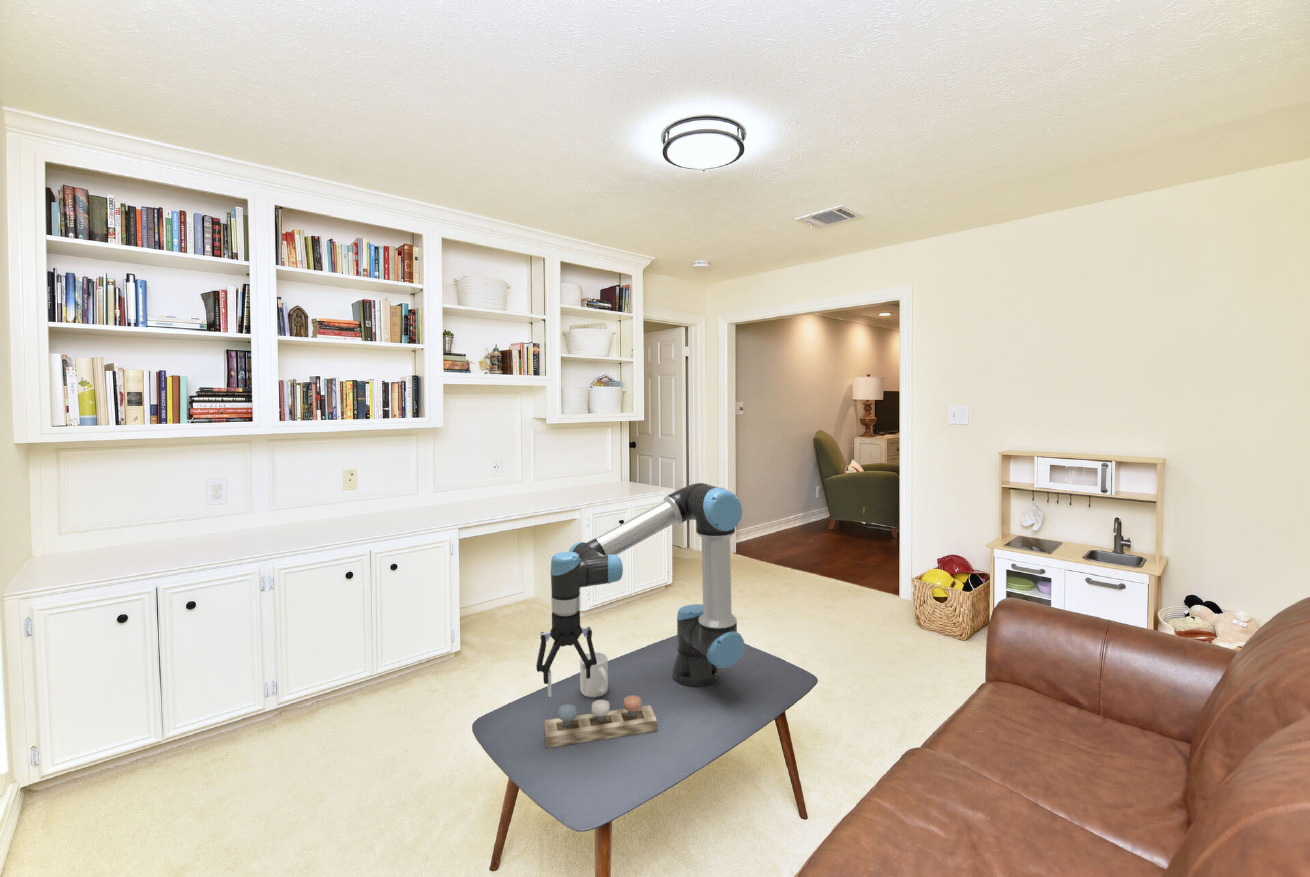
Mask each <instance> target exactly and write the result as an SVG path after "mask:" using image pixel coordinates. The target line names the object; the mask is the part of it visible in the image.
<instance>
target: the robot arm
mask: <svg viewBox="0 0 1310 877" xmlns="http://www.w3.org/2000/svg"><path fill="white" fill-rule="evenodd" d="M742 516H743V506H742V503H741V500H740V499H739V497H738V496H737V495H736V494H735V493H734V492H732V491H730V490H728V489H727V488H724V487H719V486H714V485H710V484H709V483H704V482H703V483H702V482H698V483H692V484H689V485H686V486H685V487H682V488H680V489H677V490H676V491H674V492H672V493H670V494H668V495H666V496H665V497H664V498H663V501H662V502H660V503H658V504H657V505H655V506H653V507H651V508H648V509H647V510H645V511H644V512H642V513H640V514H638V515H636V516H634V517H632V518H629V520H627V521H625V522H623V523H621V524H619V525H617V526H615V527H614V528H612V529H610V530H608V531H607V532H605V533H603V534H601V535H598V536H596V537H595V538H593V539H591V540H589V541H587V542H583V541H578V542H576V543H574V544H573V545H572V546H571V547H570V548H569V551H560V552H557V553H555V554H553V555H552V557H551V560H550V582H551V583H550V584H551V586H550V587H551V598H550V599H551V628H550V631H548V632H544V631H541V632H540V633H539V634H540V635H539V636H540V645H539V651H538V655H537V660H536V664H535V666H536V672H538V673H540V672H542V674H543V676H542V677H543V678H542V679H543V684H544V685H547V694H548V698H551V697H552V672H551V666H552V665H553V663H554V660H555V658H556V655H557V654H558V651H559V650H560V648H561V647H566V646H574V648H575V650H576V651H577V653H578V654H579V658H580V657H581V658H582V660H583V662H584V665H582V684H583V691H584V692H587V684H586V679H589V678H590V668H591V666H592V665H596V664H597V660H596V656H595V652H596V651H595V648H594V645H593V640H592V637H593V631H592V630H593V629H592V627H590V626H588V627H586V628H584V627H583V628H582V626H581V611H580V609H581V597H580V596H581V595H580V594H581V592H580V591H581V588H587V587H592V586H598V585H606V584H609V585H610V584H612V583H616V582H619V581H620V580H621V579H622V577H623V572H624V569H623V568H624V566H623V562H622V559H621V557H620V556H619V555H620V554H621V553H624V552H625V551H627V550H629V549H630V548H632V547H634V546H636V545H638V544H639V543H641V542H643V541H645V540H646V539H648V538H650V537H652V536H654V535H656V534H657V533H659V532H661V531H663V530H664V529H666V528H668V527H670V526H672V525H674V524H676V525H681V524H682V523H684V522H686V521H690V520H691V521H692V520H694V521H695V528H696V533H695V534H697V535H698V536H699V537H700V538H701V569H702V570H701V572H702V575H701V576H702V604H701V603H699V604H697V603H695V604H688V605H683V606H682V607H680V608H679V609H678V611H677V615H676V616H677V617H676V623H677V624H676V626H677V628H676V632H677V634H676V635H677V636H676V638H677V639H676V642H677V645H676V646H677V647H676V648H677V651H676V652H677V653H676V655H675V658H674V661H673V664H672V667H671V676H672V678H673V680H674V681H676V682H677V683H679V684H681V685H685V686H688V687H704V686H705V687H706V686H709V685H711V684H713V683H715V682H716V681H717V680H718V678H719V668H720V669H727V668H729V667H732V666H734V665H735V664H736V663H737V662H738V661H739V659H741V658H742V655H743V653H744V649H745V641H744V638H743V636H742V635H741V634H740V633H739V632H738V622H737V621H738V620H737V617H736V616H735V615H734V614H733V613H732V572H731V570H732V569H731V568H732V566H731V562H732V561H731V537H732V536H733V535H734V534H735V533H736V528H737V526H738V525H739V522H741V520H742ZM582 634H583V637H585V638H586V643H587V647H588V651H589V652H588V653H590V656H591V659H589V660H588V658H587V656H586V653H585V650H584V649H583V647H582V645H581V644H580V643H581V642H580V641H579V638H580V637H581V635H582ZM550 638H552V639H553V644H552V647H551V648H550V651H549V654H548V656H547V658H546V659H545V662H544V658H545V654H546V647H547V642H548V641H549V640H550ZM543 662H544V664H543Z"/></svg>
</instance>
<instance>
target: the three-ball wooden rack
mask: <svg viewBox="0 0 1310 877" xmlns="http://www.w3.org/2000/svg"><path fill="white" fill-rule="evenodd" d="M652 732H658V720H657V718H656V715H655V713H654V711H653V708H652V707H651V705H643V706H642V705H641V708H640V709H639V710H638V716H637V717H636V718H629V717H628V711H627V710H625V709H624V708H622V709H615V710H609V713H608V714H607V715H606V721H605V722H603V723H598V722H596V716H595V715H593V714H592V713H586V714H580V715H578V714H577V716H576V718H575V719H573V726H572V727H569V728H565V727H563V721H562V720H560V719H559V717H556V718H549V719H545V720H544V735H545V736H544V737H545V744H546V748H547V749H548V748H555V747H560V746H567V745H574V744H580V743H581V744H582V743H587V742H593V741H599V740H607V739H613V738H620V737H627V736H633V735H639V734H644V733H652Z"/></svg>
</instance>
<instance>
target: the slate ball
mask: <svg viewBox="0 0 1310 877" xmlns="http://www.w3.org/2000/svg"><path fill="white" fill-rule="evenodd" d="M577 713H578V712H577V706H576V705H575V704H570V703H569V704H568V703H567V704H563V705H561V706H560V707H559V708H558V718H559V719H560V720H562V721H563V727H565V728H569V727H572V726H573V719H575V718H576V716H578V714H577Z"/></svg>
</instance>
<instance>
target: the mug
mask: <svg viewBox="0 0 1310 877" xmlns="http://www.w3.org/2000/svg"><path fill="white" fill-rule="evenodd" d="M594 652H595V656H596V660H597V664H596V665H592V666H591V668H590V678H589V679H586V684H587V692H584V691H583V684H582V665H584V662H583V660H582V658H581V657H580V656H579V670H580V671H579V677H580V678H579V682H580V684H579V685H580V686H579V687H580V692H581V695H583V696H584V697H587V698H599V697H602V696H604V695H605V694H607V692H608V690H609V689H608V688H609V666H608V664H609V663H608V662H609V660H608V658H609V657H608V655H607V654H606V653H604V652H601V651H600V652H599V651H594ZM585 654H586V656H587V658H588V660H589V659H591V656H590V652H587V653H585Z"/></svg>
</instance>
